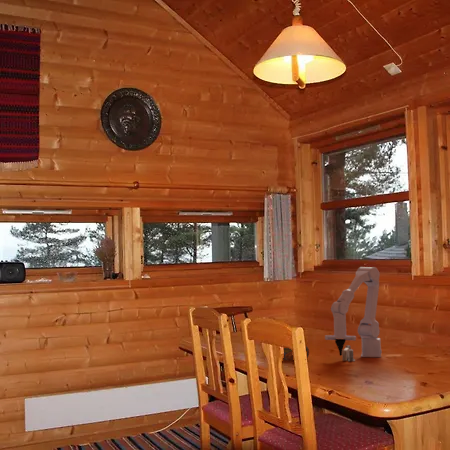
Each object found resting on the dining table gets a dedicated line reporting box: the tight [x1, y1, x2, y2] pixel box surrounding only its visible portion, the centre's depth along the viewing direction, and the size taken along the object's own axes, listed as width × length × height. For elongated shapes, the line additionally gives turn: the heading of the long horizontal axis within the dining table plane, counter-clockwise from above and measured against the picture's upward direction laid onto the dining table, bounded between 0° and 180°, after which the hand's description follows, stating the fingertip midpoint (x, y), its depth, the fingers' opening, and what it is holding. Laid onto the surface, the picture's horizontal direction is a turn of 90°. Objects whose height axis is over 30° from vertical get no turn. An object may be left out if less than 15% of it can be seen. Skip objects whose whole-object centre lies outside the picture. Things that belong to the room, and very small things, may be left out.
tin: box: [283, 345, 310, 361], centre depth 302 cm, size 15×3×8 cm, turn 62°
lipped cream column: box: [341, 347, 349, 362], centre depth 301 cm, size 10×2×5 cm, turn 160°
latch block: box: [347, 348, 356, 363], centre depth 297 cm, size 3×5×5 cm, turn 165°
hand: (340, 355), depth 298 cm, fingers closed
